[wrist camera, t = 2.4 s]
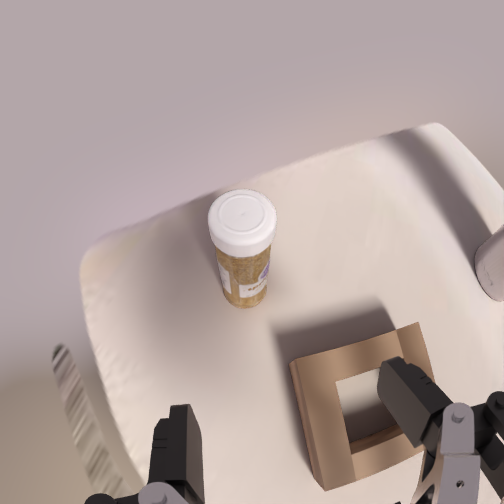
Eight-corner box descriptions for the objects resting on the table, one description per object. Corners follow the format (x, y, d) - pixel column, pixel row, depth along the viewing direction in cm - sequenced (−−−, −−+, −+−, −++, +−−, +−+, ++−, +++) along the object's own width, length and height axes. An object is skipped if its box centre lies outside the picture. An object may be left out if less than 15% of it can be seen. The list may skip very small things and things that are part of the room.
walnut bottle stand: (397, 332, 28) (418, 321, 24) (422, 435, 22) (445, 437, 18) (288, 364, 27) (295, 358, 23) (314, 478, 21) (325, 491, 17)
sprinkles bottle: (262, 312, 29) (272, 249, 17) (218, 305, 30) (198, 237, 18) (269, 272, 31) (281, 190, 19) (227, 265, 32) (216, 182, 20)
